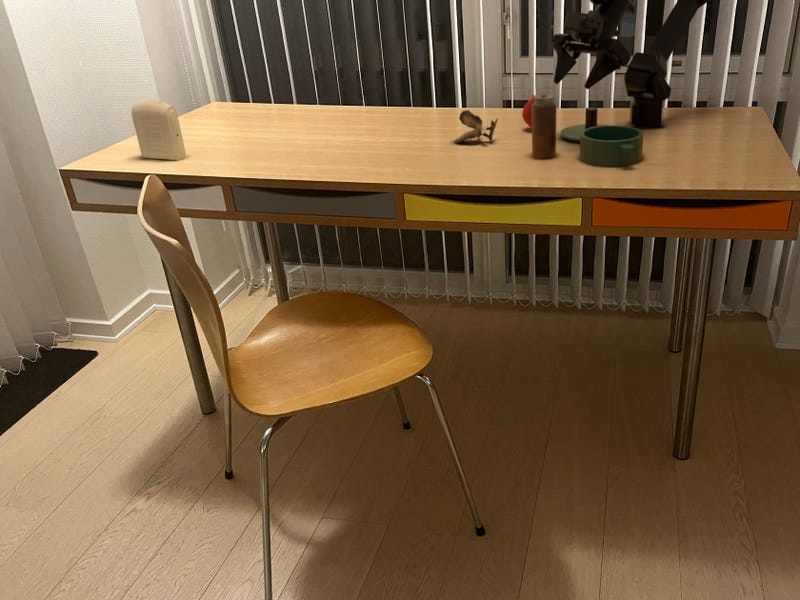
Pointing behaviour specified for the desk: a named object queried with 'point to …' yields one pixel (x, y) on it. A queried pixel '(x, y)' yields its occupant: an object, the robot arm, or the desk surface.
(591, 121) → the lid
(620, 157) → the pot
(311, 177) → the desk surface
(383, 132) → the desk surface
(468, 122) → the eagle figurine
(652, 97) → the robot arm
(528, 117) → the onion
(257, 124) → the desk surface
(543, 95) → the pepper mill
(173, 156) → the photo printer
